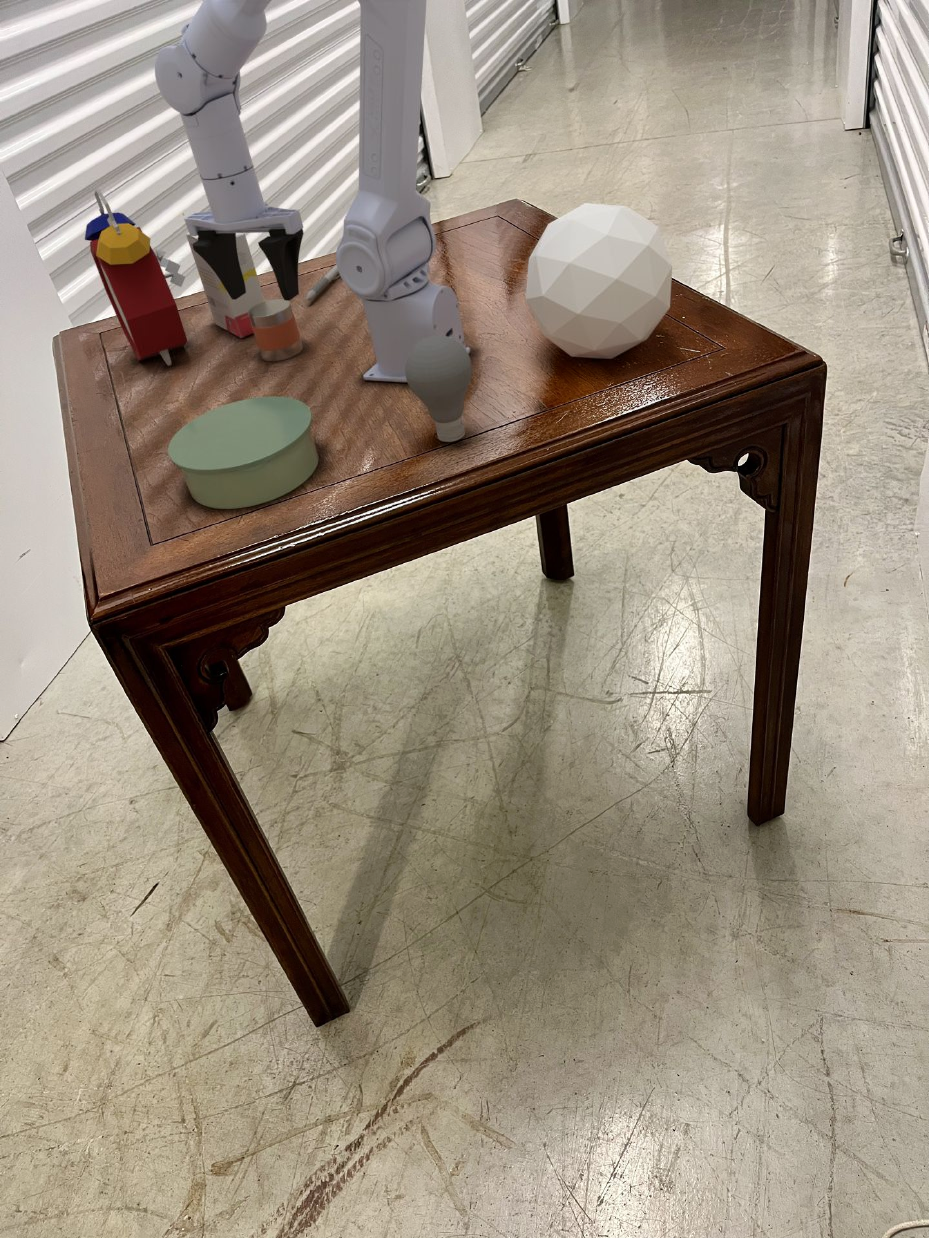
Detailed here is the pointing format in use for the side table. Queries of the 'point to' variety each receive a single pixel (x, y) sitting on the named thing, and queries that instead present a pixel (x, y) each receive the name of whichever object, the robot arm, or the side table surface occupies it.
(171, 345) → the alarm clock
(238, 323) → the ink box
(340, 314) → the side table surface
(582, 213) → the geometric shape
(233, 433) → the pale green flat cylinder
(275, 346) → the can
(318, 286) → the pen
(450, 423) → the light bulb
